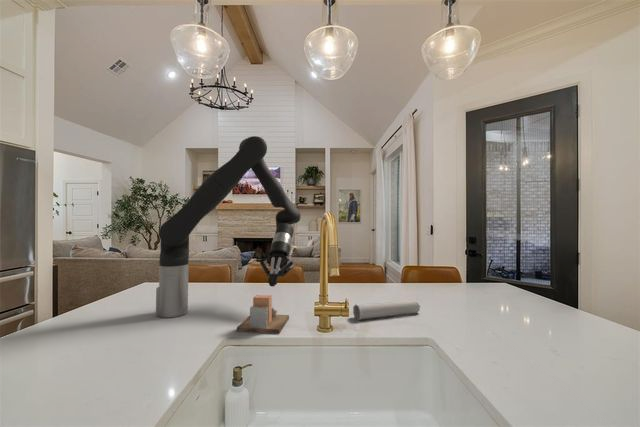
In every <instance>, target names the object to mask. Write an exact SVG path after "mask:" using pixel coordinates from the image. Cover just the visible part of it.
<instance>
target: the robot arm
mask: <svg viewBox="0 0 640 427" xmlns="http://www.w3.org/2000/svg"><path fill="white" fill-rule="evenodd" d="M267 152H268V144H267V142H266V140H265V139H263V137H261V136H256V135H254V136H252V135H251V136H248V137H247V138H245V139H243V140H242V141H241V142H240V143H239V146H238V151H237V152H236V153H235V155H234V156H233V157H231V159H229V160H228V161H227V162H226V163H224V164H222V166H220V167H218V168H217V169H216V170H215V171H214V172H212V174H210V175H209V176H208V177H207V178H206V180H205V181H203V183H202V184H201V185H200V186H199V187H198V188H197V189H196V190H195V192H194V193H193V195H192V196H190V198H189V199H188V201H187V202H186V203H185V204H184V206H183V207H182V208H180V209H179V210H178V211H177V212H175V214H174V215H173V216H171V217H170V218H169V219H168V220H165V222H163V223H162V224H161V226H160V227H159V231H158V236H159V239H160V251H159V252H160V253H159V266H158V267H159V268H158V269H159V272H158V277H159V278H158V280H159V281H158V282H159V283H158V287H156V289H155V292H156V293H155V316H158V317H161V318H166V319H167V318H176V317H181V316H184V315H186V314H187V313H188V312H189V310H188V308H189V257H190V256H189V254H190V234H191V233H192V232H193V230H194V229H195V228H196V227H197V225H198V224H199V223H200V222H201V221H202V219H204V217H206V216H207V215H209V213H211V212H212V211H213V210H214V209H215V208H216V207H217V206H218V205H220V203H222V202H223V201H224V200H225V198H226V197H227V196H228V195H229V194H230V193H231V192H232V191H233V189H234V188H235V187H236V186H237V185H238V183H239V182H240V181H241V180H242V179H243V177H244V176H245V175H246V174H247V173H248V172H249V171H250V170H251V171H252V172H253V174H254V175H255V177H256V179H257V180H258V182H259V183H260V184H261V186H262V188H263V190H264V191H265V194H266V196H267V198H268V200H269V201H270V203H271V205H272V206H273V208H282V210H280V211H278V212H277V213H276V215H275V226H276V227H275V233H274V236H273V239H272V242H271V246H270V248H269V249H270V250H269V252H268V253H269V254H268V256H267V257H266V259H265V260H264V261H263V260H260V261H259V264H260V267H261V268H262V270H263V272H264V274H265V275H266V276H267V277H268V280H267V282H268V284H269V287H275V286H277V284H278V279H279V278H280V277H282V278H284V277H285V276H286V275H287V274H288V273H289V272H290V271H291V270H292V269H294V267H295V266H294V263H293V261H290V254H291V248H292V243H293V242H292V240H293V234H294V227H293V225H294V224H297V223H298V222H300V220H301V217H302V216H301V213H300V209H298V207H297V206H296V205H295V204H294V203H293V202H292V201H291V200H290V198H289V197H288V195H287V194H286V193H285V190H284V188H283V187H282V185H281V183H280V182H279V180H278V179H277V177H276V176H275V175H274V173H273V172H272V171H271V170H270V168H269V167H268V165H267V164H266V161H265V159H264V157H265V156H266V155H267ZM268 266H269V268H270V270H269V268H268Z"/></svg>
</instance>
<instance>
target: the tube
mask: <svg viewBox="0 0 640 427" xmlns="http://www.w3.org/2000/svg"><path fill="white" fill-rule="evenodd" d="M420 309H421V304H420V303H419V302H418V301H417V300H414V299H407V300H397V301H396V300H394V301H385V302H374V303H366V304H365V303H364V304H356V303H355V305H353V307H352V313H353V314H352V315H353V316H354V317H353V318H354V319H355V320H357V321H358V322H359V321H361V320H370V319H372V320H373V319H379V318H387V317H396V316H404V315H412V314H413V315H414V314H417V313H418V312H420Z"/></svg>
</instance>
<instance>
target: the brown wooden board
mask: <svg viewBox="0 0 640 427" xmlns="http://www.w3.org/2000/svg"><path fill="white" fill-rule="evenodd" d="M289 319H290V315H289V314H277V316H272V321H271V322H270V324H268V327H267V329H258V328H250V315H249V316H248V317H246V318H245V319H244V320H243V321H242V322H241V323H240V324H239V325H238V326H236V332H237V331H239V333H256V334H257V333H258V334H259V333H260V334H261V333H262V334H281V332H282V330H283V329H284V327H285V325H286V324H287V323H288V321H289Z"/></svg>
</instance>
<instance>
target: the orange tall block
mask: <svg viewBox="0 0 640 427" xmlns="http://www.w3.org/2000/svg"><path fill="white" fill-rule="evenodd" d="M272 301H273V295H271V294H270V295H269V294H268V295H267V294H256V295H255V296H252V306H268V324H270V322H271V321H272V307H273V306H272V305H273V302H272Z"/></svg>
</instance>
